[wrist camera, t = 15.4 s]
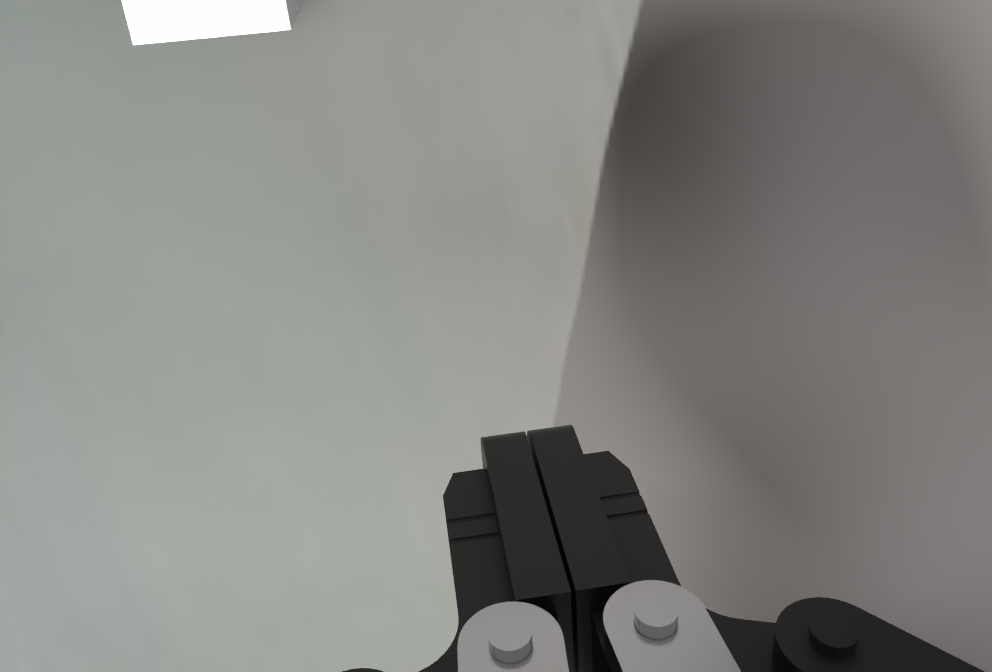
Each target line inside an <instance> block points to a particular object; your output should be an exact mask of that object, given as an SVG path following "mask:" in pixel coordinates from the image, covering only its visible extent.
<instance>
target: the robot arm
mask: <svg viewBox="0 0 992 672" xmlns="http://www.w3.org/2000/svg"><path fill="white" fill-rule="evenodd" d="M481 450H482V461H483V469H479V470H472V471H465V472H458V473H453V475H452V477H451V480H450V482H449V484H448V486H447V488H446V491H445V493H444V495H443V499H444V507H445V514H446V522H447V530H448V538H449V545H450V553H451V561H452V569H453V576H454V584H455V592H456V599H457V607H458V615H459V624H458V630H457V633H456V636H455V639H454V640H453V642H452V644H451V646H450V647H449V648H448V650H447V651H446V652H445V653H444V654H443V655H442V656H441V657H440V658H439V659H438V660H437V661H436V662H434V663H433V664H431V665H430V666H428V667H427V668H425V669H423V670H421V671H419V672H984V671H982V670H980V669H978V668H976V667H974V666H972V665H970V664H968V663H966V662H964V661H962V660H961V659H958V658H957V657H954V656H953V655H951V654H949V653H946V652H945V651H943V650H941V649H939V648H937V647H935V646H933V645H931V644H929V643H927V642H925V641H923V640H921V639H919V638H917V637H915V636H913V635H911V634H909V633H907V632H905V631H903V630H901V629H899V628H897V627H896V626H894V625H892V624H890V623H888V622H886V621H884V620H882V619H880V618H878V617H876V616H874V615H872V614H870V613H868V612H866V611H864V610H862V609H860V608H858V607H856V606H854V605H852V604H849V603H847V602H843V601H840V600H836V599H831V598H821V597H820V598H819V597H817V598H807V599H803V600H799V601H797V602H794V603H792V604H791V605H789V606H787V607H786V608H785V609H784V610H783V611H782V612H781V614H780V615H779V617H778V619H777V622H776V623H770V622H760V621H752V620H743V619H736V618H730V617H727V616H723V615H720V614H717V613H715V612H712V611H710V610H708V609H706V608H705V607H704V605H703V604H702V602H701V601H700V600H699V599H698V598H697V597H696V596H695V595H694V594H692V593H691V592H690V591H688V590H686V589H685V588H683V587H681V585H680V583H679V581H678V579H677V577H676V574H675V572H674V570H673V567H672V565H671V563H670V561H669V558H668V556H667V554H666V551H665V549H664V547H663V545H662V543H661V540H660V538H659V535H658V533H657V531H656V529H655V526H654V524H653V522H652V519H651V518H650V515H649V514H648V513H647V508H646V506H645V503H644V501H643V499H642V497H641V496H640V494H639V490H638V488H637V486H636V483H635V481H634V478H633V476H632V474H631V472H630V469H629V468H628V467H627V466H625V465H624V464H623V463H622V462H621V461H619V460H618V459H617V458H616V457H615V456H614V455H612V454H611V453H610V452H609V451H604V452H598V453H590V454H583V452H582V449H581V447H580V444H579V441H578V439H577V436H576V433H575V431H574V428H573V426H572V425H567V426H560V427H552V428H545V429H538V430H531V431H528V432H527V436H526V433H525V432H518V433H511V434H503V435H496V436H489V437H482V438H481ZM343 672H383V671H380V670H375V669H370V668H358V669H351V670H347V671H343Z"/></svg>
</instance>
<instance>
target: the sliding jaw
mask: <svg viewBox="0 0 992 672" xmlns="http://www.w3.org/2000/svg"><path fill="white" fill-rule="evenodd" d="M121 1H122V4H123V8H124V12H125V16H126V19H127V23H128V27H129V31H130V34H131V38H132V42H133V45H140V44H151V43H161V42H171V41H181V40H191V39H202V38H212V37H222V36H232V35H243V34H253V33H263V32H273V31H284V30H291V28H292V25H293V23H294V20H295V18H296V15H297V13H298V10H299V7H300V5H301V2H302V0H121Z"/></svg>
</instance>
